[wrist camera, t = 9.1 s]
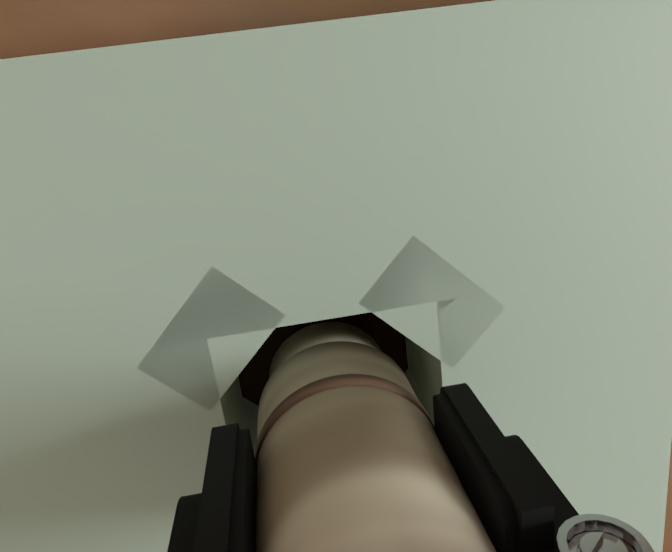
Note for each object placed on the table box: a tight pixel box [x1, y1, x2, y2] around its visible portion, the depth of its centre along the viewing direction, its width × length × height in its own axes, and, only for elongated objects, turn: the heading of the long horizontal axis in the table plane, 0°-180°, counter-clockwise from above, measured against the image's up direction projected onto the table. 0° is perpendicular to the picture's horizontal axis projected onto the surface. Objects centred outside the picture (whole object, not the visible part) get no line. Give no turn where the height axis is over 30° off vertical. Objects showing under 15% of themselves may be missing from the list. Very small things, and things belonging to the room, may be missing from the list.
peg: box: [255, 322, 497, 552], centre depth 10 cm, size 4×4×12 cm
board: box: [0, 0, 672, 552], centre depth 16 cm, size 18×18×4 cm
